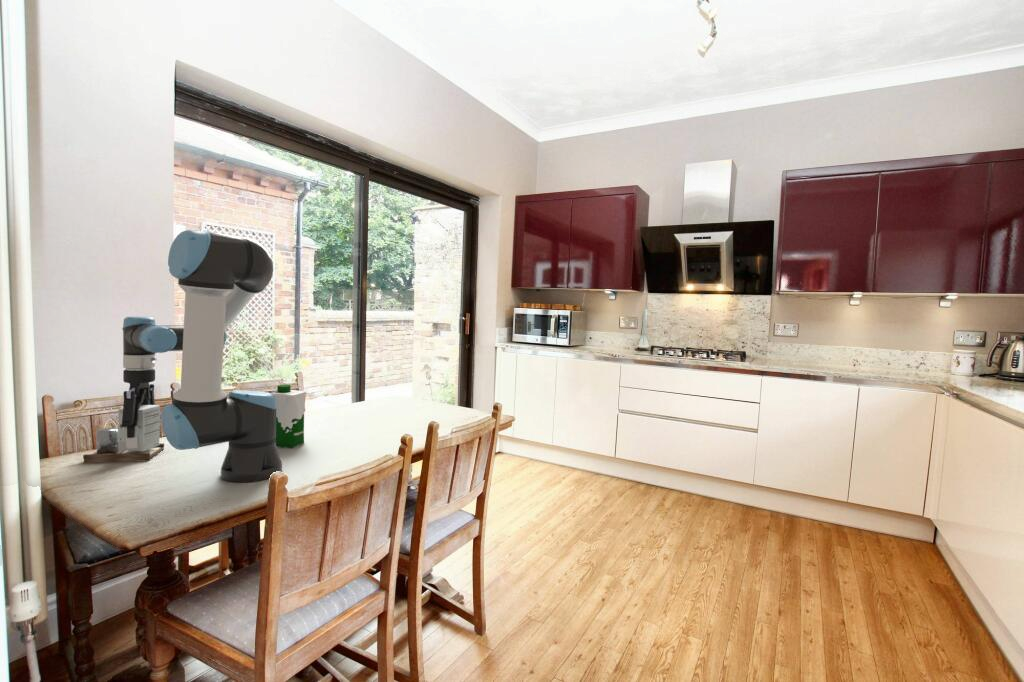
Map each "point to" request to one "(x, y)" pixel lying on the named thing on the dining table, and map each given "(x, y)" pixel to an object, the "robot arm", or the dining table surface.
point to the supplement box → (142, 428)
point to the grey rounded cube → (107, 440)
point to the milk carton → (289, 416)
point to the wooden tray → (124, 455)
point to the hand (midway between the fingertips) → (139, 443)
